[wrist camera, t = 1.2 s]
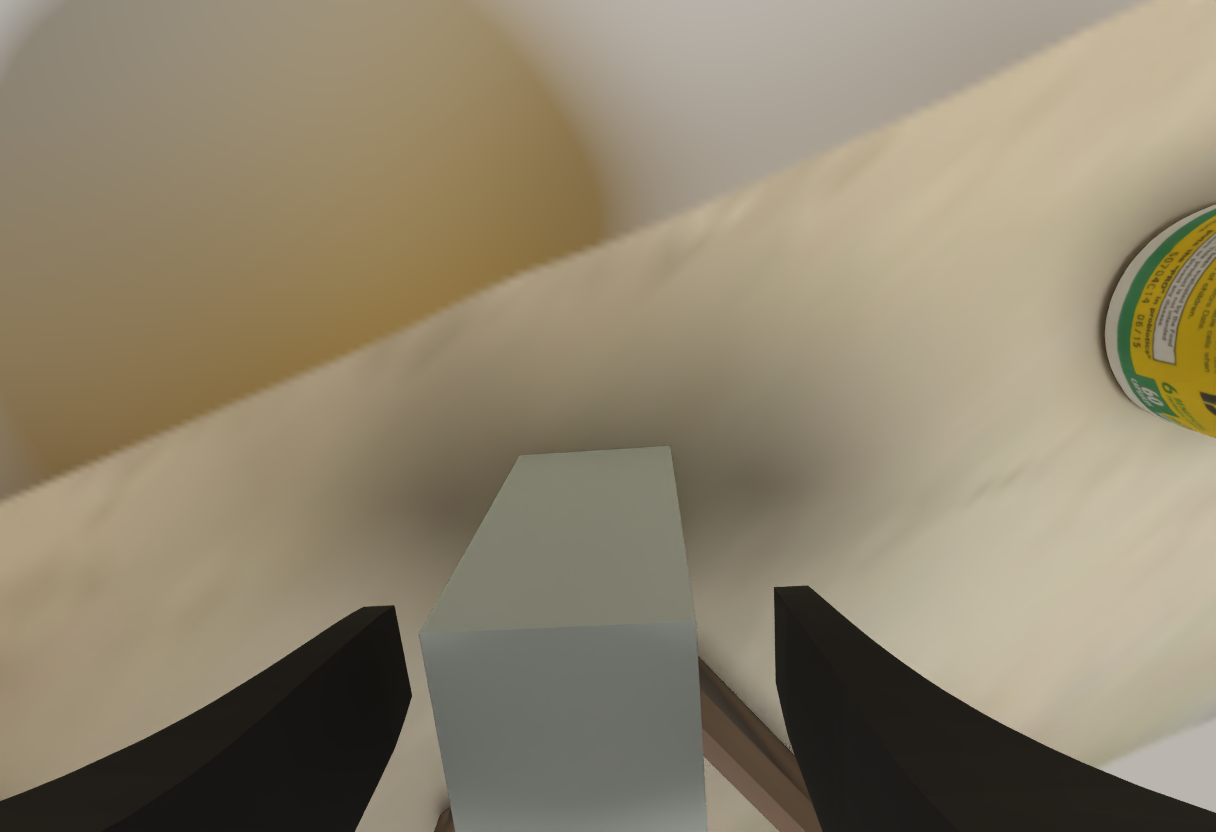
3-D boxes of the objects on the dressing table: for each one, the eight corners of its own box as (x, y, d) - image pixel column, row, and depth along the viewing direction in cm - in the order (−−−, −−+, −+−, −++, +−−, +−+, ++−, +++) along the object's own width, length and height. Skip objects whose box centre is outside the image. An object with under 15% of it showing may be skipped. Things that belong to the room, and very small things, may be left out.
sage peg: (536, 589, 18) (458, 850, 10) (519, 455, 17) (419, 633, 9) (678, 581, 18) (708, 845, 10) (669, 445, 17) (695, 620, 9)
